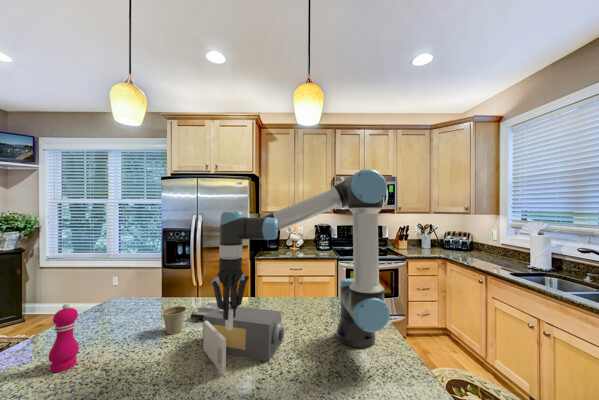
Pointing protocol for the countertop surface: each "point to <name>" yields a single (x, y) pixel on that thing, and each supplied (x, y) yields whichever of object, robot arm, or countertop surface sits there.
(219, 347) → the side door
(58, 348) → the pepper mill
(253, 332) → the camera body
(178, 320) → the flower pot
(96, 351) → the countertop surface
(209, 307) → the camcorder
